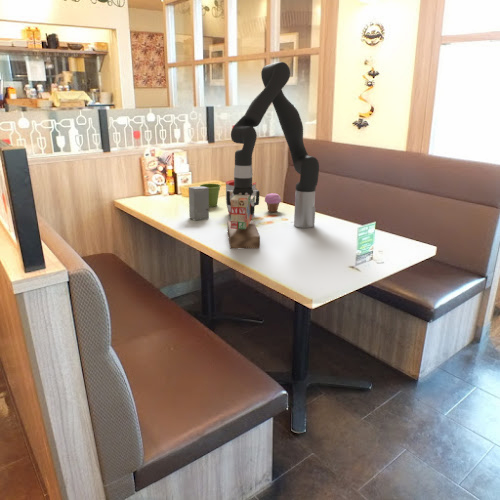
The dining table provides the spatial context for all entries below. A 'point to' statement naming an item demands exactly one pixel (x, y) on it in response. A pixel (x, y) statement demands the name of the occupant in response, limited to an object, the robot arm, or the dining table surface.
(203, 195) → the skincare box
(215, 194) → the plant pot
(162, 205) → the dining table surface
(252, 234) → the walnut block
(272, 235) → the dining table surface
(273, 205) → the cupcake
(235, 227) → the stack of blocks
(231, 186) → the citrus juicer
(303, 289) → the dining table surface
